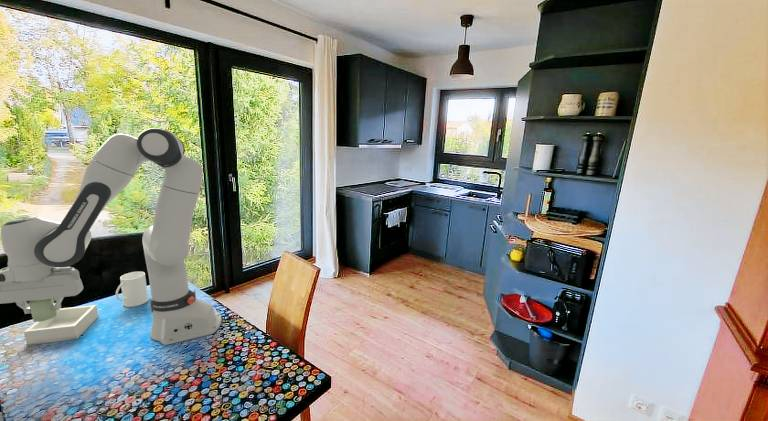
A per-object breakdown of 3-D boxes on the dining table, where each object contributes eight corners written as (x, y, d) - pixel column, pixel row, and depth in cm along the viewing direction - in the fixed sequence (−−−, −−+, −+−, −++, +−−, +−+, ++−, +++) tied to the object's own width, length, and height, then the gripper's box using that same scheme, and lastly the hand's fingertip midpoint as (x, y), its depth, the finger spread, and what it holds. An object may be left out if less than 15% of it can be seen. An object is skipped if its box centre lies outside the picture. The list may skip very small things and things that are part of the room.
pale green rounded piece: (60, 311, 99) (56, 294, 98) (50, 320, 95) (46, 302, 93) (40, 314, 97) (35, 297, 96) (28, 323, 93) (24, 305, 91)
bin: (98, 316, 118) (96, 304, 117) (77, 338, 105) (74, 325, 104) (54, 321, 114) (51, 309, 113) (26, 345, 101) (23, 331, 100)
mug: (125, 312, 122) (121, 285, 119) (109, 308, 124) (104, 281, 121) (153, 298, 133) (150, 272, 130) (138, 295, 135) (135, 269, 132)
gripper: (83, 262, 99) (91, 301, 102) (-4, 269, 92) (7, 310, 95) (71, 270, 93) (80, 311, 96) (-23, 278, 86) (-10, 322, 89)
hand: (43, 311), depth 95 cm, fingers closed on pale green rounded piece, 5 cm apart
